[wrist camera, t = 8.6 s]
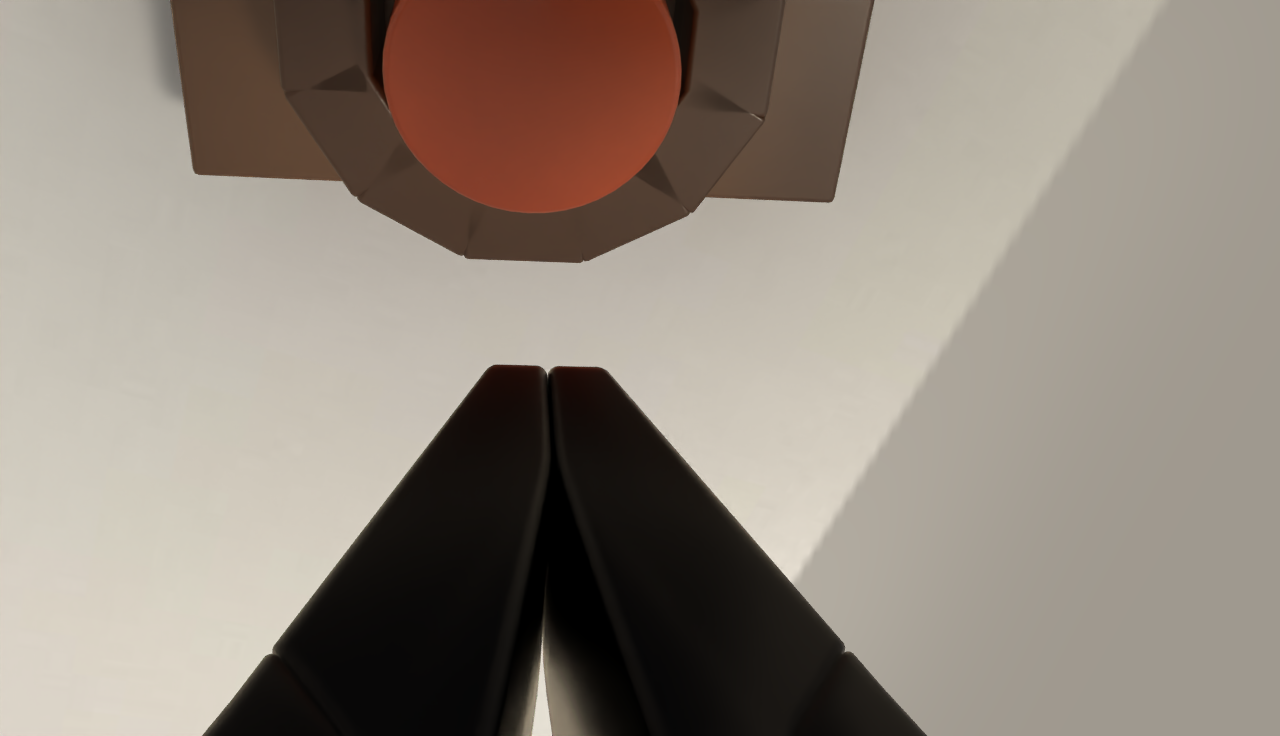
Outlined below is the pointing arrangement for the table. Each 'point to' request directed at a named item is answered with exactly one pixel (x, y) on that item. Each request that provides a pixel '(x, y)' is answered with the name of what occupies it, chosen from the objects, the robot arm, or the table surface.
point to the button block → (409, 194)
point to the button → (532, 94)
